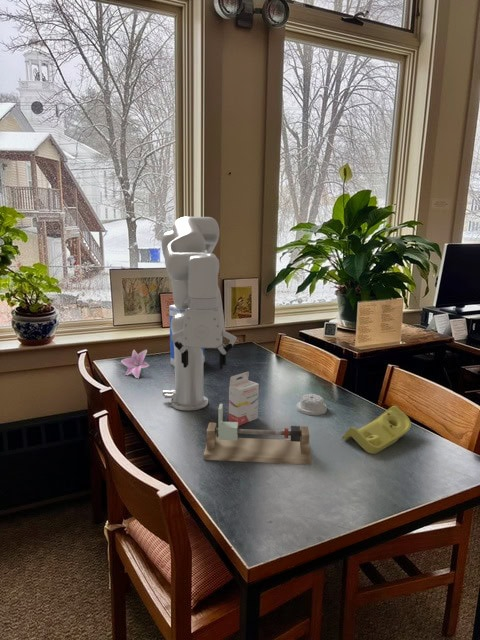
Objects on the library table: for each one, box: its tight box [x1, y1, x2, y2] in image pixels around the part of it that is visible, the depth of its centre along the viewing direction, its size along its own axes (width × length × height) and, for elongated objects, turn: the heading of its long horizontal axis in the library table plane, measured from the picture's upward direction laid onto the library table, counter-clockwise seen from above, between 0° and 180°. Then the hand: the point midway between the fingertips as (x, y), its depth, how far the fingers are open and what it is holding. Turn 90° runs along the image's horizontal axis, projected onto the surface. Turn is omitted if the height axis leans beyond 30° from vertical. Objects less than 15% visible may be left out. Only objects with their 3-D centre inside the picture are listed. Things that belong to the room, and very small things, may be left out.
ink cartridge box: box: [228, 371, 260, 427], centre depth 145 cm, size 9×5×15 cm, turn 135°
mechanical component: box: [296, 393, 328, 416], centre depth 155 cm, size 10×4×10 cm
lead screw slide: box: [203, 422, 312, 465], centre depth 126 cm, size 28×10×8 cm, turn 86°
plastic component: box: [342, 405, 412, 455], centre depth 135 cm, size 20×7×10 cm
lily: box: [120, 349, 150, 379], centre depth 186 cm, size 12×12×10 cm
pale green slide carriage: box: [217, 403, 239, 441], centre depth 125 cm, size 5×4×9 cm
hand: (203, 366), depth 125 cm, fingers open, 9 cm apart
